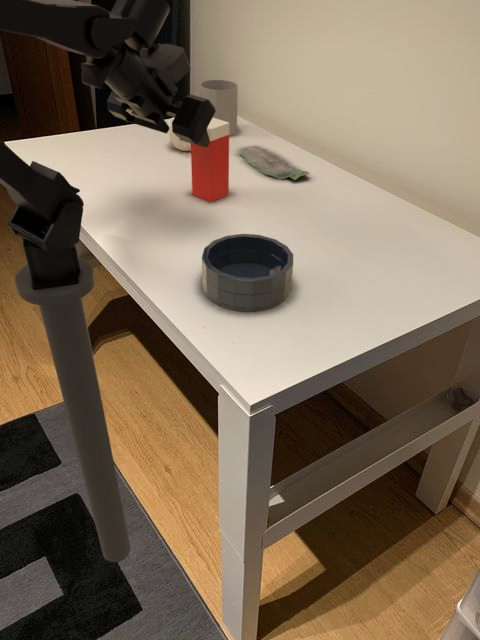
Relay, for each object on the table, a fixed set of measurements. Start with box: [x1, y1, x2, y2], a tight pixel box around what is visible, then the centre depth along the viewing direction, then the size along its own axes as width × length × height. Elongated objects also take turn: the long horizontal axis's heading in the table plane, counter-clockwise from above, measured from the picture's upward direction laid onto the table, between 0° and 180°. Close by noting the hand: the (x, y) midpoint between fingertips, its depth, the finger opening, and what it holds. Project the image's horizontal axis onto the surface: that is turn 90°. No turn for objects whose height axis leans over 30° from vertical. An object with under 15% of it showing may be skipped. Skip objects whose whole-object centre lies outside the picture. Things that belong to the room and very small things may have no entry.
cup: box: [199, 79, 239, 137], centre depth 126 cm, size 8×8×10 cm
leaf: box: [239, 146, 311, 180], centre depth 115 cm, size 20×8×1 cm, turn 32°
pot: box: [201, 233, 294, 313], centre depth 78 cm, size 13×13×5 cm
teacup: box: [167, 117, 191, 152], centre depth 118 cm, size 10×8×5 cm
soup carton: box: [190, 118, 230, 203], centre depth 99 cm, size 5×5×13 cm
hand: (187, 137), depth 92 cm, fingers open, 9 cm apart
